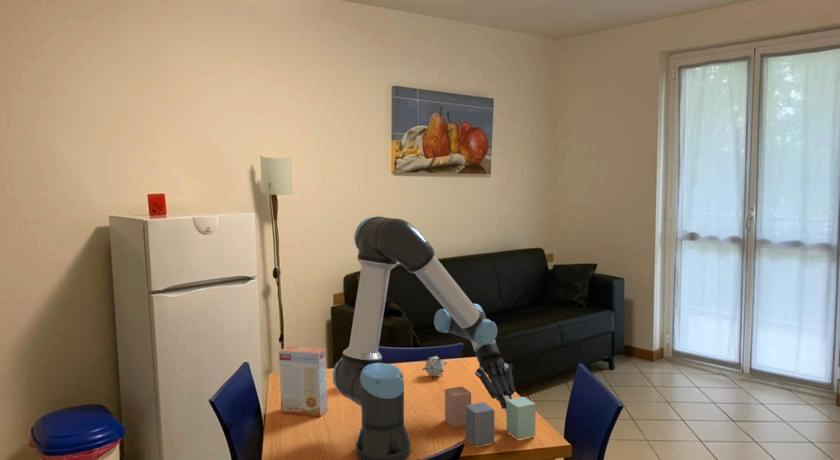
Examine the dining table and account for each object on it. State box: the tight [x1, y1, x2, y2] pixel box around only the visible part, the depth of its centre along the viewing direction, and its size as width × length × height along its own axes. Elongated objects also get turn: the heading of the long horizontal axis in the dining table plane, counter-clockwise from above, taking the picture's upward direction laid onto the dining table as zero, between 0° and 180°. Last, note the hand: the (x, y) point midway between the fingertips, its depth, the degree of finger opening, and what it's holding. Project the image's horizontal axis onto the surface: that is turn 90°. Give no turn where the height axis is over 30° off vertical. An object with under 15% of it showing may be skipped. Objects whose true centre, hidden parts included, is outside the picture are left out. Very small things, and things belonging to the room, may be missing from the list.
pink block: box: [444, 385, 472, 429], centre depth 177 cm, size 6×6×10 cm
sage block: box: [506, 396, 536, 439], centre depth 168 cm, size 6×6×10 cm
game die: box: [422, 353, 448, 380], centre depth 218 cm, size 9×8×10 cm
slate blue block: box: [465, 401, 495, 448], centre depth 164 cm, size 6×6×10 cm
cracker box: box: [278, 345, 328, 417], centre depth 185 cm, size 14×6×21 cm, turn 74°
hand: (512, 417), depth 172 cm, fingers closed
